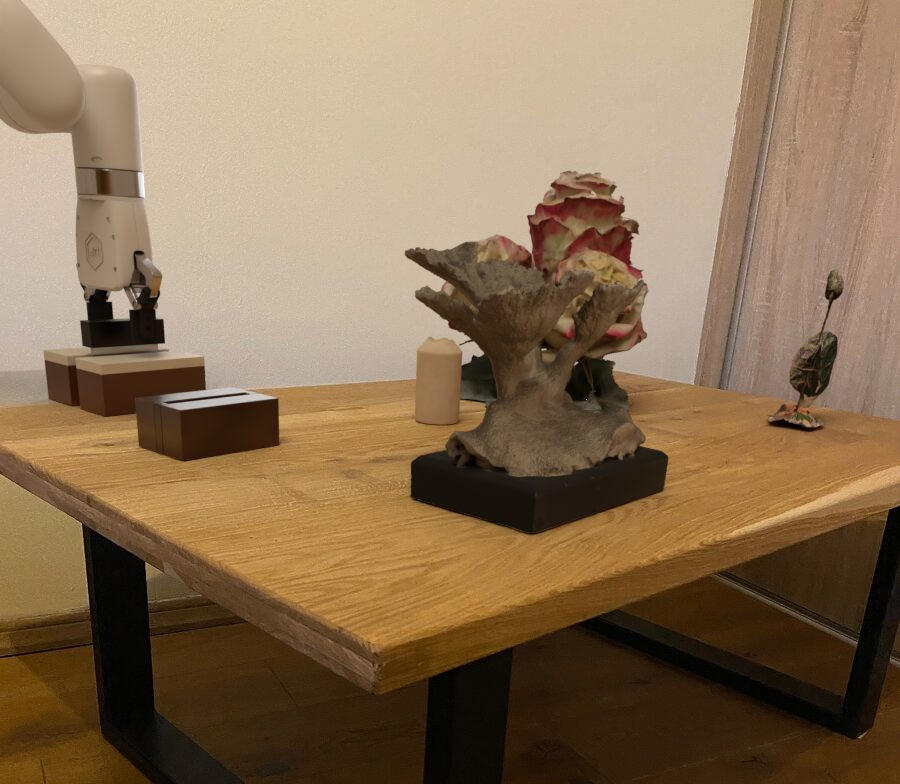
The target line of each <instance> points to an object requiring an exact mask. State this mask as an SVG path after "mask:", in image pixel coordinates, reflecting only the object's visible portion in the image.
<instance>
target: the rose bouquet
mask: <svg viewBox="0 0 900 784" xmlns="http://www.w3.org/2000/svg"><path fill="white" fill-rule="evenodd" d="M601 175H602V173H601V172H600V171H598V172H597V171H596V172H594V173H591V172H588V173H587V172H586V173H579V171H576V170H574V171H572V170H566V171H562V172H559V177H558V178H556V179H554V181H553V182H551V183H550V187H551V188H550V189H548V190H547V191H545V193H544V195H543V198H542V202H538V203H537V204H536V206H535V209H534V214H528V215H527V216H526V218H527V221H528V222H527V223H528V226H529V230H528V233H529V235H530V240H531V241H530V242H531V248H532V249H531V252H530V251H529V250H528V249H527V248H526V247H525V245H522V244H517V243H516V242H515V241H513V240H512V239H510V238H508V237H506V236H505V235H500V234H498V233H497V234H493V235H491V236H489V237H487V238H485V239H480V240H476V242H478V244H479V245H478V255H477V257H478V260H477V262H478V263H479V262H480V261H484V262H486V261H487V260H489V259H490V258H497V259H498V260H499V259H501V260H502V261H507V260H508V261H510V262H511V261H513V260H514V262H517V264H519V266H520V265H521V266H523V267H525V268H526V269H527V270H528V268H532V269H535V270H538V271H541V272H542V273H543V275H542V276H541V277H542V278H543V279H544V281H545V284H547V283H548V282H549V277H551V275H552V274H553V273H556V276H555V286H556V288H557V287H558V286H559V281H560V278H561V277H562V275H564V272H565V271H569V270H571V271H572V272H573V271H574V270H579V269H582V270H585V271H590V272H594V273H595V277H594V280H593V281H592V282H591V284H590V285H589V286H588V287H587V288H586V290H585V291H584V292H583V293H581V294H580V295H578V296H577V297H575V298H574V299H573V301H572V302H570V303H569V305H568V306H567V307H566V309H565V310H564V312H563V315H561V317H560V319H559V321H558V323H557V324H556V325H555V326H554V327H553V328H552V330H551V331H550V332H549V333H548V334H547V335H546V336H545V337H544V340H543V343H542V345H541V348H542V359H543V361H544V362H546V363H551V362H552V361H554V360H555V357H556V355H557V353H558V352H559V350H560V349H561V347H562V345H564V344H567V343H568V342H570V341H571V340H572V339H573V338H574V337H575V325H574V320H573V319H572V317H571V315H572V313H573V312H576V311H579V310H580V307H581V306H582V305H583V303H584V302H585V300H587V301H589V300H590V299H591V297H592V294H593V291H594V289H595V287H597V286H598V285H608V284H614V282H619V283H621V284H622V285H624V284H625V285H627V286H628V287H629V289H630V288H631V289H632V288H633V287H634V285H637V283H638V282H639V281H640V280H641V279H642V280H643V278H644V277H643V271H644V269H639V268H636V267H634V266H633V265H634V263H633V262H632V261H631V254H632V247H633V242H632V241H633V240H634V239H635V237H634V236H633V234H635V235H639V236H640V235H641V234H640V231H639V227H640V224H639V221H638V220H636V219H634V218H629V217H626V216H623V215H622V214H625V211H626V205H625V204H624V201H625V200H624V199H625V197H624V196H623V195H620V197H619V198H618V199H616V198H614V197H613V196H612V195H613V194H614V192H615V191H616V189H617V188H618V186H617V185H616V184H617V181H615V180H611V179H609V178H603V177H602V176H601ZM441 290H444V291H445V292H446V293H447V294H448V295H450V297H451V299H456V300H457V301H459V302H464V303H465V304H466V305H467V306H469V307H470V308H472V310H473V311H476V312H477V313H478V312H479V310H478V309H476V308H475V307H474V306H473V305H472V304H471V303H470V302H469V301H468V299H467V298H466V297H465V296H464V295H463V294H462V293H461V292H460V291H459V290H457V289H456V288H455V287H453V285H451V284H449V283H448V282H447V281H444V283H443V285H442V286H441V289H440V291H441ZM649 292H650V291H649V288H648V283H646V282H644V286H643V288H642V289H641V291H640V293H639V294H638V295H637V297H636V298H635V300H634V301H633V302H631V305H630V306H627V307H626V308H625V309H624V311H623V312H621V314H619V315H618V317H617V318H616V319H615V321H614V323H613V324H612V325H611V327H610V328H609V329H608V331H607V332H606V333H605V334H604V335H603V336H602V337H601V338H600V339H598V340H597V341H596V342H595V343H594V344H592V346H590V347H589V348H588V350H587V351H586V352H585V353H584V355H583V356H582V357H580V358H579V359H578V360H577V361H576V363H575V364H574V366H573V368H572V369H571V373H570V374H569V376H568V381H567V384H566V388H565V391H566V392H567V393H568V394H569V395H570V396H571V398H572V400H573V402H574V403H575V404H576V405H578V406H579V407H581V408H582V409H584V410H585V411H587V412H590V413H596V414H599V413H603V412H607V411H608V410H610V409H613V408H615V407H623V408H625V409H626V410H627V412H628V413H630V409H629V407H630V406H632V405H634V402H630V401H629V399H628V398H629V395H628V391H627V390H625V389H624V388H622V387H620V385H619V384H618V383H617V382H616V380H615V378H614V376H615V375H613V374H614V371H613V370H614V366H616V362H615V361H614V360H611V359H605V358H604V357H606V356H608V355H611V354H617V353H623V352H627V351H630V350H632V349H633V348H634V347H636V346H637V345H638V344H640V343H642V342H643V340H645V339H647V338H648V333H647V332H646V331H645V330H644V325H643V322H642V312H643V307H644V305H645V299H646V297H647V295H648V293H649ZM447 322H448V321H447ZM447 326H448V328H449V329H451V330H453V331H457V332H458V333H462V332H461V331H460V330H459V329H458V328H456V327H455V326H454V325H453V324H451V323H450V322H448V323H447ZM463 335H464V336H467V335H466V334H465V333H463ZM472 342H474V341H473V340H472V339H468V340H465V341H464V342H461V343H459V344H458V347H460V346H463V345H465V344H468V343H472ZM460 399H463V400H464V399H465V400H467V399H468V400H473V401H480V402H481V401H482V402H485V405H484V406H485V407H486V408H487V407H488V405H489V404H490V403H491V402H493V401H495V400H496V399H497V388H496V381H495V378H494V375H493V370H492V364H491V361H490V359H489V357H488V356H487V355H486V354H484V353H483V354H482V355H480V356H477V355H475V354H473V355H472V356H471V360H470V361H468V362H467V363H464V364H463V363H462V369H461V388H460ZM586 399H587V400H586Z"/></svg>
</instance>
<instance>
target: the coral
mask: <svg viewBox="0 0 900 784" xmlns="http://www.w3.org/2000/svg"><path fill="white" fill-rule="evenodd" d="M478 245H479V244H478V242H477V240H475V241H464V242H462V243H460V244H458V245H456V246H455V247H452V248H451V249H450V248H446V249H443V250H438V249H435V248H431V247H430V248H429V249H426V248H425V247H423V248H421V247H420V246H418V247H417V246H416V247H415V248H413V247H412V248H408V249H405V250H404V256H405V257H406V258H407V259H408V260H411V261H412V262H414V263H415V264H417V265H418V266H419V267H421V268H422V269H424V270H426V271H428V272H429V273H431V274H433V275H435V276H436V277H439V278H440V279H442V280H443V281H444V282H446V281H447V282H448V283H449V284H451V285H453V287H455V288H456V289H457V290H459V291H460V292H461V293H462V294H463V295H464V296H465V297H466V298H467V299H468V301H469V302H470V303H471V304H472V305H473V306H474V307H475V308H476V309H478V310H479V312H478V313H477V312H476V311H473V310H472V308H470V307H469V306H467V305H466V304H465V303H464V302H459V301H457V300H456V299H451V297H450V295H448V294H447V293H446V292H445V291H444V290H441V289H440V290H438V291H436V290H434V289H432V287H430V286H429V285H428V284H427V285H426V286H421V287H420V289H416V290H414V297H415V299H416V300H417V301H419V302H420V303H422V304H423V305H424V306H425V307H427V308H428V309H430V310H431V311H433V312H434V313H435V314H437V315H439V317H440V318H441V319H442V320H445V321H447V322H450V323H451V324H453V325H454V326H455V327H456V328H458V329H459V330H460V331H461V332H460V333H462V334H464V333H465V334H466V335H465V336H466V337H468V338H469V340H471V339H472V340H473V342H474V343H475V344H476V345H477V346H478V348H479V349H480V351H482V352H483V354H486V355H487V356H488V357H489V359H490V361H491V364H492V370H493V375H494V378H495V381H496V388H497V399H496V400H495V401H493V402H491V403H490V404H489V405H488V407H486V409H485V412H484V415H483V418H482V421H481V422H480V423H479V424H478V425H477V426H476V427H475V428H473V429H471V430H467V431H465V430H464V431H463V430H462V431H459V430H455V431H453V432H452V433H451V434H450V436H449V439H448V441H447V442H446V443H445V445H444V447H445V449H444V450H440V451H434V452H429V453H425V454H420V455H418V456H417V457H416V458H414V459H413V460H411V462H410V498H411V499H414V500H416V501H417V500H418V501H421V502H423V503H427V504H431V505H433V506H436V507H440V508H444V509H447V510H450V511H454V512H458V513H461V514H465V515H468V516H471V517H475V518H479V519H481V520H485V521H488V522H492V523H495V524H497V525H501V526H505V527H509V528H511V529H514V530H517V531H520V532H524V533H528V534H536V533H540V532H544V531H545V530H549V529H552V528H556V527H558V526H561V525H563V524H566V523H571V522H573V521H576V520H579V519H583V518H585V517H587V516H591V515H595V514H597V513H600V512H603V511H606V510H609V509H612V508H615V507H618V506H621V505H624V504H628V503H630V502H633V501H636V500H640V499H642V498H647V497H648V496H651V495H654V494H657V493H660V492H662V491H665V485H666V478H667V473H668V472H667V471H668V465H669V455H668V454H667V453H666V452H664V451H662V450H659V449H656V448H650V447H645V446H642V445H643V444H644V443H645V442H646V439H647V437H646V435H645V433H644V432H643V431H642V430H641V428H639V427H638V426H637V425H636V423H634V421H633V418H632V416H631V414H630V412H627V410H626V409H625V408H623V407H615V408H613V409H610V410H608V411H607V412H603V413H599V414H596V413H590V412H587V411H585V410H584V409H582V408H581V407H579V406H578V405H576V404H575V403H574V402H573V400H572V398H571V396H570V395H569V394H568V393H567V392H566V391H565V388H566V384H567V381H568V376H569V374H570V373H571V369H572V368H573V366H574V365H576V364H577V362H576V361H577V360H578V359H579V358H580V357H582V356H583V355H584V353H585V352H586V351H587V350H588V348H589V347H590V346H592V344H594V343H595V342H596V341H597V340H598V339H600V338H601V337H602V336H603V335H604V334H605V333H606V332H607V331H608V329H609V328H610V327H611V325H612V324H613V323H614V321H615V319H616V318H617V317H618V315H619V314H621V312H623V311H624V309H625V308H626V307H627V306H630V305H631V302H633V301H634V300H635V298H636V297H637V295H638V294H639V293H640V291H641V289H642V288H643V286H644V283H645V280H644V279H643V278H642V279H641V278H640V279H639V280H638V281H639V282H638V283H637V285H634V287H633V288H632V289H631V288H630V289H629V287H628V286H627V285H625V284H624V285H622V284H621V283H619V282H614V284H608V285H598V286H597V287H595V289H594V291H593V294H592V297H591V299H590V300H589V301H587V300H585V302H584V303H583V305H582V306H581V307H580V310H579V311H576V312H573V313H572V315H571V317H572V319H573V320H574V325H575V337H574V338H573V339H572V340H571V341H570V342H568V343H567V344H564V345H562V347H561V349H560V350H559V352H558V353H557V355H556V357H555V360H554V361H552V362H551V363H546V362H544V361H543V359H542V351H543V349H542V348H541V345H542V343H543V340H544V337H545V336H546V335H547V334H548V333H549V332H550V331H551V330H552V328H553V327H554V326H555V325H556V324H557V323H558V321H559V319H560V317H561V315H563V312H564V310H565V309H566V307H567V306H568V305H569V303H570V302H572V301H573V299H574V298H575V297H577V296H578V295H580V294H581V293H583V292H584V291H585V290H586V288H587V287H588V286H589V285H590V284H591V282H592V281H593V280H594V277H595V273H594V272H590V271H585V270H582V269H579V270H574V271H573V272H572V271H571V270H569V271H565V272H564V275H562V277H561V278H560V281H559V286H558V287H557V288H556V286H555V276H556V273H553V274H552V275H551V277H549V282H548V283H547V284H545V281H544V279H543V278H542V277H541V276H542V275H543V273H542V272H541V271H538V270H535V269H532V268H528V270H527V269H526V268H525V267H523V266H521V265H520V266H519V264H517V262H514V260H513V261H511V262H510V261H508V260H507V261H502V260H501V259H499V260H498V259H497V258H490V259H489V260H487V261H486V262H484V261H480V262H479V263H478V262H477V260H478V257H477V255H478Z"/></svg>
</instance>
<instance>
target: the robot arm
mask: <svg viewBox="0 0 900 784" xmlns="http://www.w3.org/2000/svg"><path fill="white" fill-rule="evenodd" d="M0 120H1V121H2V122H3V124H5V125H7V126H8V127H9V128H11V129H13V130H15V131H18V132H20V133H24V134H28V135H40V134H41V135H43V134H70V135H71V143H72V144H71V145H72V153H73V164H74V175H75V186H76V198H77V199H76V209H75V210H76V211H75V246H76V247H75V250H76V251H75V252H76V263H75V264H76V265H75V267H76V270H77V277H78V281H79V284H80V286H81V289H82V290H83V296H82V297H83V300H84V302H85V304H86V314H87V315H86V316H87V320H102V319H114V311H113V310H114V308H113V301H109V299H110V296H111V294H112V292H121V291H122V290H124V292H125V296H126V297H127V299H128V301H129V303H130V305H131V307H132V309H128V314H129V315H128V316H129V318H130V329H131V341H132V343H133V344H135V345H144V344H156V343H157V341H158V339H157V324H156V318H157V311H156V310H158V308H159V303H158V301H159V298H160V297H161V290H160V289H161V285H162V280H163V273H162V271H161V270H160V269H159V268H158V267H157V266H156V265H155V264H154V257H153V249H152V241H151V233H150V226H149V220H148V215H147V210H146V205H145V204H146V191H145V178H144V176H145V175H144V161H143V147H142V146H143V145H142V134H141V133H142V131H141V117H140V102H139V90H138V84H137V80H136V78H135V77H134V75H133V74H132V73H131V72H130V71H127V70H125V69H123V68H120V67H115V66H111V65H103V64H77V65H76V64H75V62H74V60H73V59H72V58H71V56H70V55H69V54H68V52H67V51H66V50H65V49H64V48H63V47H62V46H61V44H60V43H59V42H58V41H57V40H56V38H55V37H54V36H53V35H52V34H51V32H50V31H48V29H47V28H46V27H45V26H44V24H42V22H41V21H40V20H39V19H38V17H37V16H36V15H35V13H33V12H32V10H30V8H29V7H28V6H27V5H26V4H25V3H24V2H23V1H22V0H0ZM138 294H139V295H138Z"/></svg>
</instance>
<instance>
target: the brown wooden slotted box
mask: <svg viewBox="0 0 900 784" xmlns="http://www.w3.org/2000/svg"><path fill="white" fill-rule="evenodd" d="M279 402H280V400H279V397H276V396H271V395H266V394H262V393H259V392H255V391H250V390H246V389H241V388H238V387H234V386H231V387H221V388H213V389H212V388H211V389H206V390H202V391H193V392H184V393H175V394H166V395H156V396H147V397H138V398H135V404H136V413H135V415H136V428H137V442H138V447H139V448H142V449H146V450H149V451H152V452H155V453H158V454H160V455H165V456H167V457H169V458H173V459H176V460H178V461H181V462H187V461H191V460H198V459H203V458H210V457H215V456H222V455H229V454H234V453H239V452H245V451H246V452H247V451H250V450H256V449H263V448H268V447H274V446H279V445H280V405H279Z"/></svg>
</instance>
